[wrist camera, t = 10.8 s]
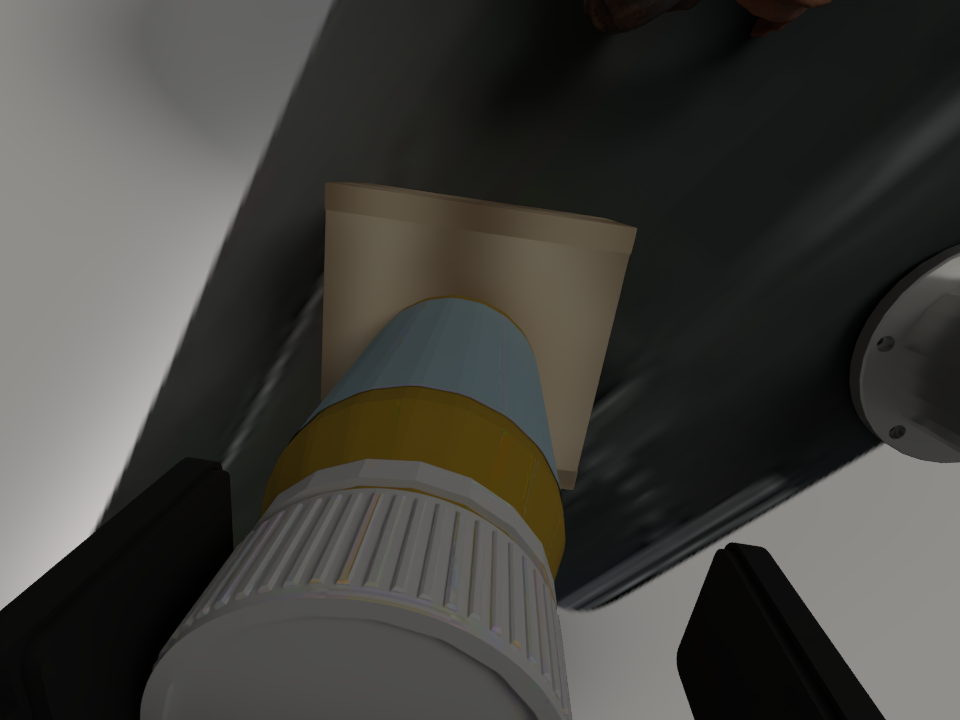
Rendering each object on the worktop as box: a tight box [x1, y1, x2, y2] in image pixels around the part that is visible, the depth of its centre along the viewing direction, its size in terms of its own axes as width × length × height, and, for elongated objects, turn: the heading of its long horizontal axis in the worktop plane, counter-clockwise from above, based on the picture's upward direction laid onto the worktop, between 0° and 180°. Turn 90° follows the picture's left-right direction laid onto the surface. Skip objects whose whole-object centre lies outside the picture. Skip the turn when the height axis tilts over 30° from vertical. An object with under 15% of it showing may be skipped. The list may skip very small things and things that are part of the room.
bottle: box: [140, 295, 572, 720], centre depth 14 cm, size 7×7×15 cm
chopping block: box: [321, 182, 637, 490], centre depth 23 cm, size 12×12×6 cm
